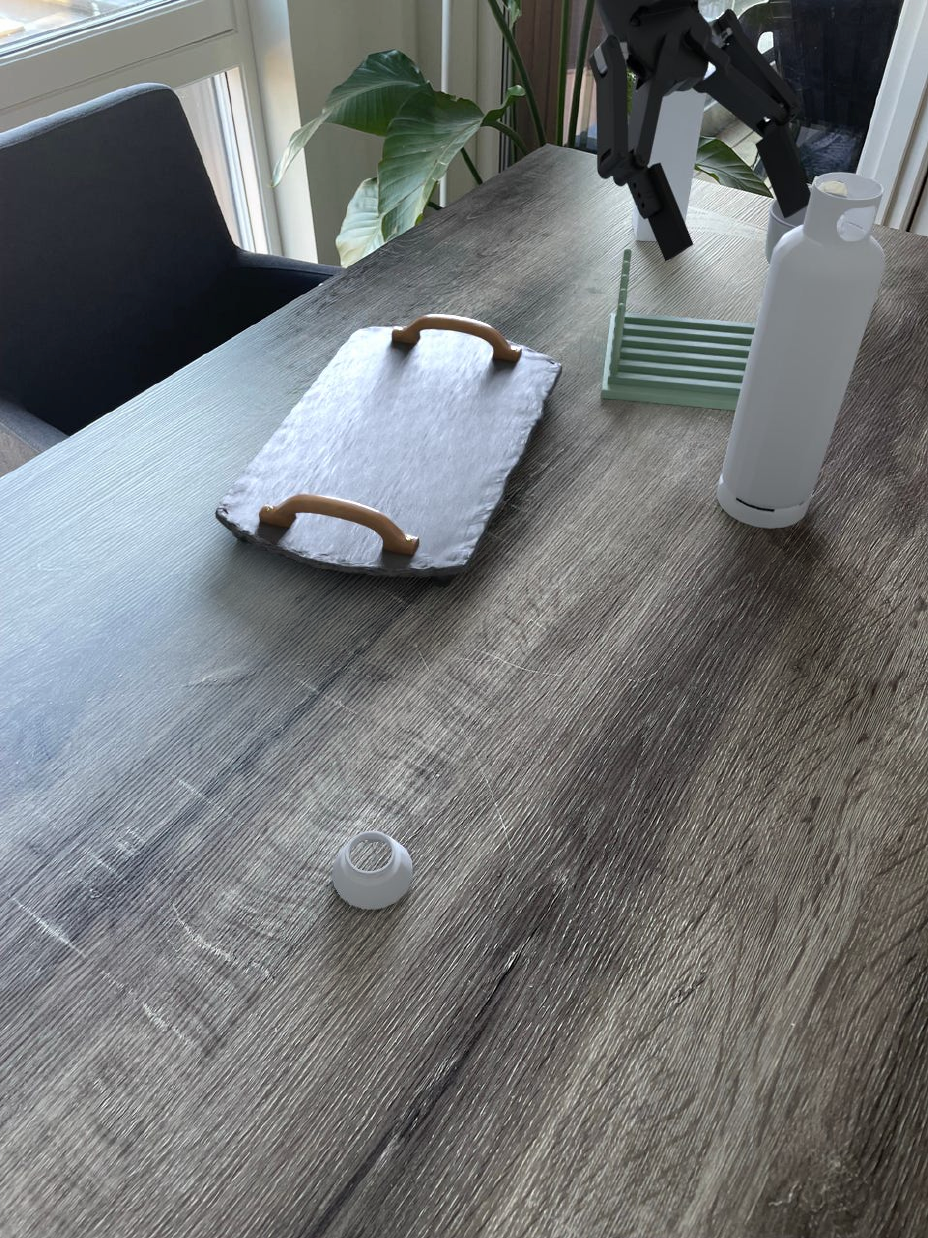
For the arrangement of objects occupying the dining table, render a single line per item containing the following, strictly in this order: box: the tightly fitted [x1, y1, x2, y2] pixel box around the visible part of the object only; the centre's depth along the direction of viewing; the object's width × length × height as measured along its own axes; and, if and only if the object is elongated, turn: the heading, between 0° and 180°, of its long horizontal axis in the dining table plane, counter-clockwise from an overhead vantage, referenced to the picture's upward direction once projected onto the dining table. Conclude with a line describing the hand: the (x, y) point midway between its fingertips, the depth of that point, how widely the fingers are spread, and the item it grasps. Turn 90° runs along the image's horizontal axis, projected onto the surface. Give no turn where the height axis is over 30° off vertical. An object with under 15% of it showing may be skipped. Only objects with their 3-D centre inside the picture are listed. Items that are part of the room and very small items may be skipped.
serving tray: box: [214, 313, 563, 588], centre depth 92 cm, size 39×23×6 cm, turn 162°
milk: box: [631, 88, 708, 242], centre depth 121 cm, size 6×6×22 cm
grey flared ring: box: [331, 830, 414, 911], centre depth 62 cm, size 5×3×5 cm
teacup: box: [764, 185, 864, 265], centre depth 119 cm, size 14×11×8 cm
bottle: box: [716, 171, 887, 529], centre depth 80 cm, size 8×8×28 cm
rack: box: [600, 247, 756, 412], centre depth 103 cm, size 19×16×9 cm
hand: (741, 231), depth 79 cm, fingers open, 13 cm apart
